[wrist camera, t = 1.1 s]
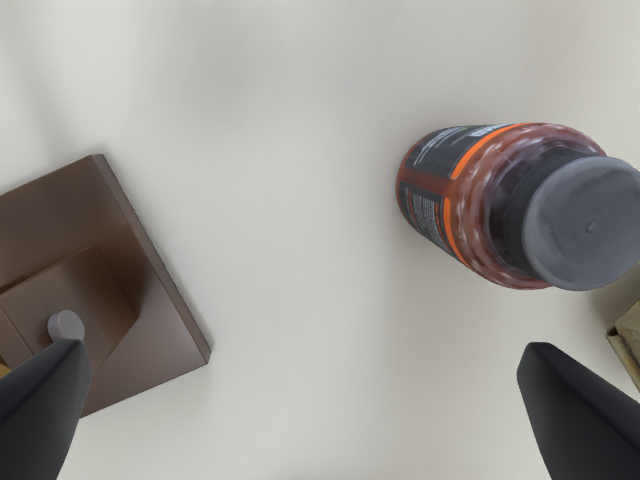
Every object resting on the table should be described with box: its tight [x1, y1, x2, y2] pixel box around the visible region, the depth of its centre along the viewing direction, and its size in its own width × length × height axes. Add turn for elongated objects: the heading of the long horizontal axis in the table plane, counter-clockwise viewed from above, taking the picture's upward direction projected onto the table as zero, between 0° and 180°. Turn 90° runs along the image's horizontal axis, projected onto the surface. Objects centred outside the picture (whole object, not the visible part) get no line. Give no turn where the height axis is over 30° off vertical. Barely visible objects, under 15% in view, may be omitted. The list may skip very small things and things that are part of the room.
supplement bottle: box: [396, 123, 640, 291], centre depth 18 cm, size 6×6×11 cm
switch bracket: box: [0, 154, 212, 419], centre depth 19 cm, size 12×9×9 cm
